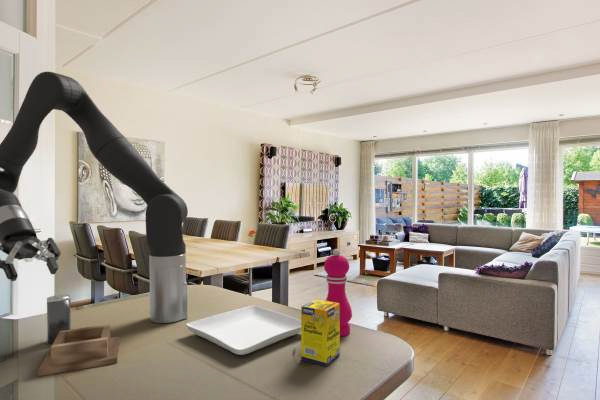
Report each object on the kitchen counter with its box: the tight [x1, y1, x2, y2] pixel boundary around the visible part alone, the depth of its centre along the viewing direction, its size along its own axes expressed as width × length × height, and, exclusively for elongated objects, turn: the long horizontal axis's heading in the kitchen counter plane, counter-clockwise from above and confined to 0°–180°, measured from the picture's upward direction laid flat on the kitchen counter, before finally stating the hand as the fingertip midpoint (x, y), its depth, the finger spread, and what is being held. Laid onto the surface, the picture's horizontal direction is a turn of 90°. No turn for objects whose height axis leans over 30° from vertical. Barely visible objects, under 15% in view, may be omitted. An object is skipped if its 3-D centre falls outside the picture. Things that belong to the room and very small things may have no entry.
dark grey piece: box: [46, 294, 72, 346], centre depth 84 cm, size 4×4×10 cm
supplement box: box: [300, 298, 341, 367], centre depth 75 cm, size 6×6×11 cm
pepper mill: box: [323, 248, 353, 338], centre depth 89 cm, size 7×7×20 cm
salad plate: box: [185, 305, 301, 356], centre depth 87 cm, size 21×21×3 cm
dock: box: [37, 323, 120, 377], centre depth 76 cm, size 13×12×4 cm
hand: (35, 275), depth 90 cm, fingers open, 8 cm apart
